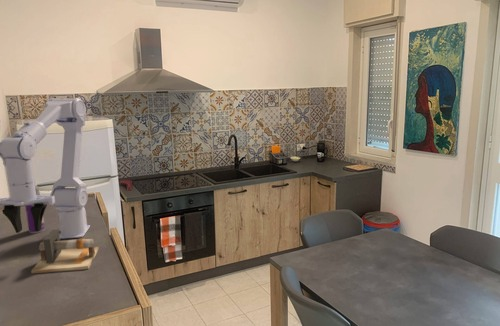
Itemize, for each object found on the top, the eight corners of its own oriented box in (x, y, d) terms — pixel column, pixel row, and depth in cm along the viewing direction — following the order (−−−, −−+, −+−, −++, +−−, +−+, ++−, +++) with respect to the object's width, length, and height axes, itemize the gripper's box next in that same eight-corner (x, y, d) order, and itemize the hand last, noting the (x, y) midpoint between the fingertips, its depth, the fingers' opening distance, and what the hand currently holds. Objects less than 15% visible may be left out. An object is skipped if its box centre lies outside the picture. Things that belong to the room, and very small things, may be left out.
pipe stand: (48, 252, 108) (46, 234, 106) (98, 249, 110) (96, 230, 108) (31, 273, 96) (28, 252, 95) (88, 268, 98) (85, 248, 97)
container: (26, 231, 123) (19, 188, 120) (39, 226, 127) (33, 185, 124) (34, 234, 121) (28, 190, 117) (48, 229, 125) (42, 186, 121)
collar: (55, 251, 106) (52, 229, 104) (61, 251, 106) (58, 229, 104) (46, 263, 99) (43, 239, 98) (53, 262, 99) (49, 239, 98)
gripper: (-17, 188, 92) (-8, 238, 95) (45, 185, 94) (52, 234, 97) (-3, 180, 99) (5, 228, 102) (55, 178, 101) (61, 224, 104)
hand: (28, 230), depth 100 cm, fingers open, 4 cm apart
